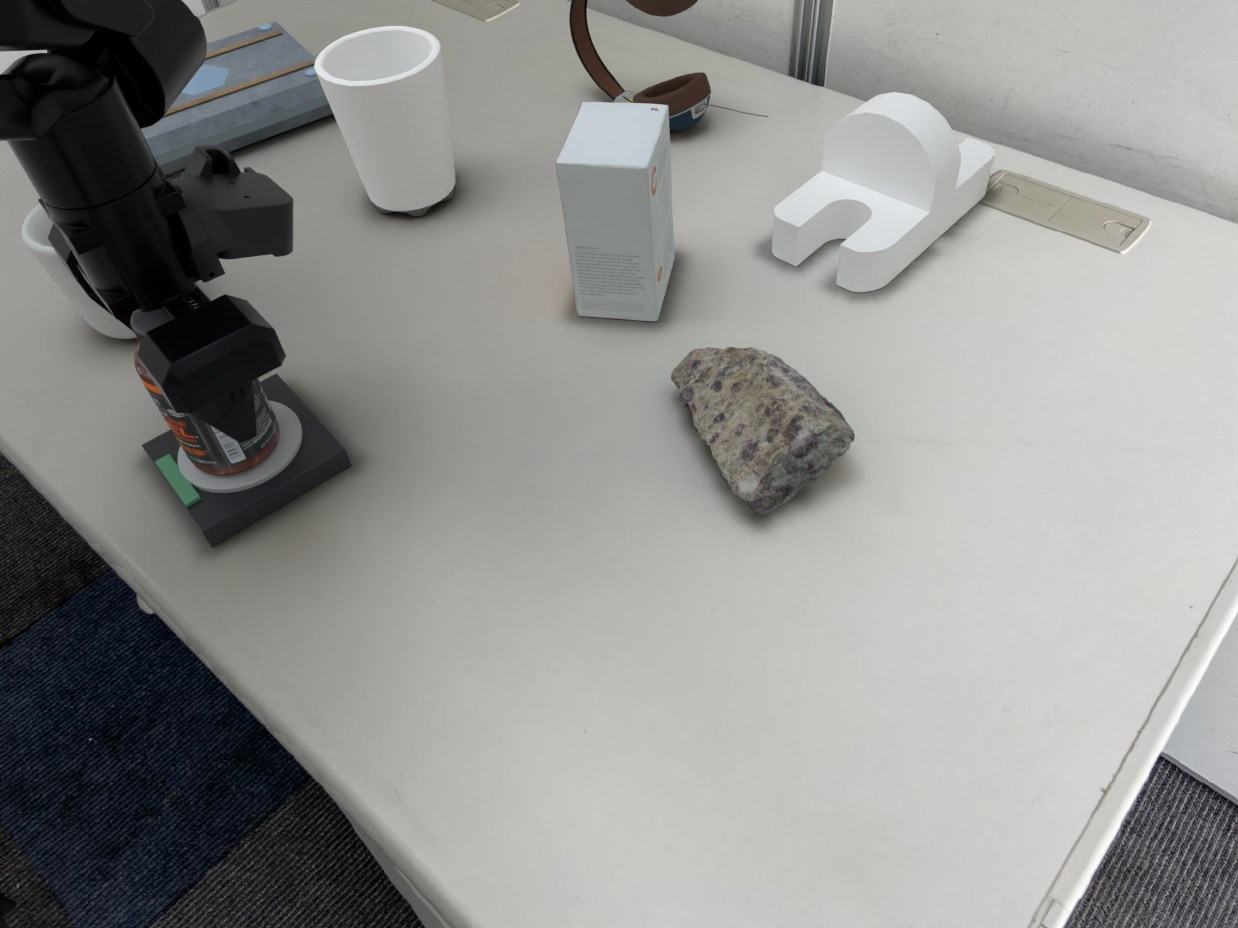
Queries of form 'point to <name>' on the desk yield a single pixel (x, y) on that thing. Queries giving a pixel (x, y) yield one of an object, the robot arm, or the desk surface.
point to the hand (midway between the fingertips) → (216, 399)
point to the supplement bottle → (198, 437)
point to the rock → (760, 422)
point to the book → (240, 96)
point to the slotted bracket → (883, 191)
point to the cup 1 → (68, 276)
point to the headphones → (679, 93)
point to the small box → (618, 208)
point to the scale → (253, 469)
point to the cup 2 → (392, 114)
